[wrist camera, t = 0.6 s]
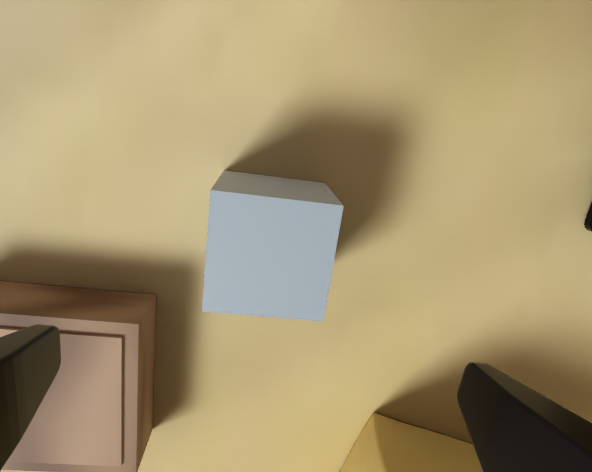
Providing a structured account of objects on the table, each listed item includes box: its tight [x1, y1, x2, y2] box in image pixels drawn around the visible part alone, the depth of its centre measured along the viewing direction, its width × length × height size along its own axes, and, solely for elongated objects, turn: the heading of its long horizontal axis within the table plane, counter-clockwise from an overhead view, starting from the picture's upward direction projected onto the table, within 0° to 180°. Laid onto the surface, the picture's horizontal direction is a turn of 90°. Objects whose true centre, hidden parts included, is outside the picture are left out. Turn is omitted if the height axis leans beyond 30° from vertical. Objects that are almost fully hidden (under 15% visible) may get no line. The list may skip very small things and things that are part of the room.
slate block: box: [202, 170, 344, 321], centre depth 17 cm, size 5×5×5 cm
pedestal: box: [0, 281, 156, 472], centre depth 20 cm, size 9×9×3 cm
